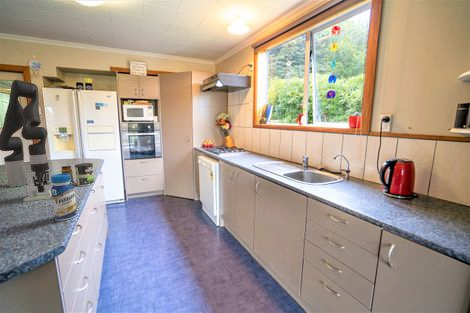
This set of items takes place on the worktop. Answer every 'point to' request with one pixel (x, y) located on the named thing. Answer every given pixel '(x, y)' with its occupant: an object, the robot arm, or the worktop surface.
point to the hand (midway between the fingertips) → (43, 190)
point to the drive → (35, 189)
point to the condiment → (67, 171)
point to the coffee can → (84, 174)
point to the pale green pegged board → (38, 197)
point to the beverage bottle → (63, 197)
